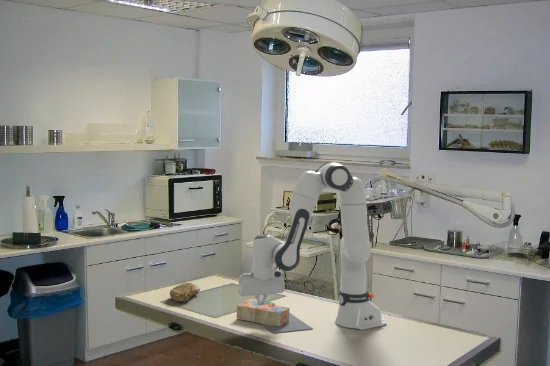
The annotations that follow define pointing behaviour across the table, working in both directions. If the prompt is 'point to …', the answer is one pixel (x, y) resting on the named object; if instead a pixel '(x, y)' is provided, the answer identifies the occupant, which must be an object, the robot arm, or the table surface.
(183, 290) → the brown rock
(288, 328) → the mat
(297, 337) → the table surface
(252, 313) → the stack of blocks
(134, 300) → the table surface
